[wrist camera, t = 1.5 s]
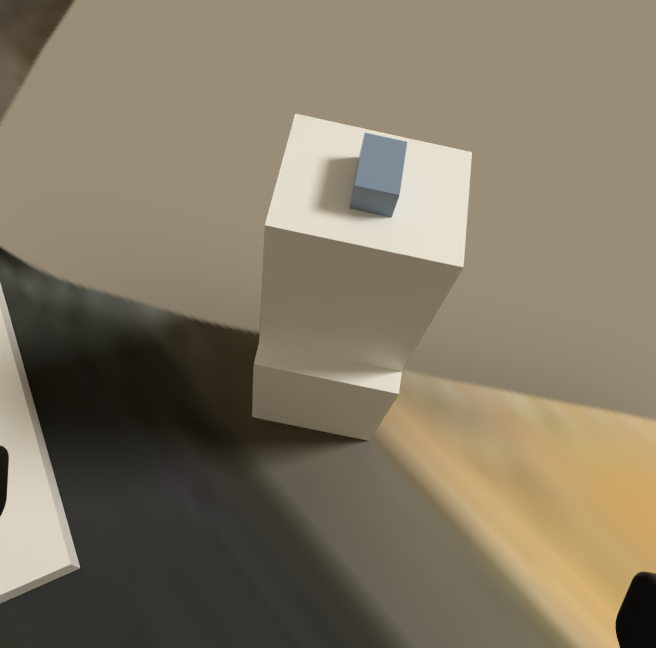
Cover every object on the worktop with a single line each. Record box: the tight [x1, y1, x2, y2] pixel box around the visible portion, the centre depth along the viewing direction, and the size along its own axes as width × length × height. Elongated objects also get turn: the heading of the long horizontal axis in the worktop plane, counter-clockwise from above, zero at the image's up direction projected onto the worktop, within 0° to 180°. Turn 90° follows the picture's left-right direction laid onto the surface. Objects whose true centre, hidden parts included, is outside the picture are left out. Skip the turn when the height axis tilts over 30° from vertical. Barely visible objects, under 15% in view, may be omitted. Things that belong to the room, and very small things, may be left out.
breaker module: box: [252, 114, 472, 441], centre depth 19 cm, size 5×4×12 cm
